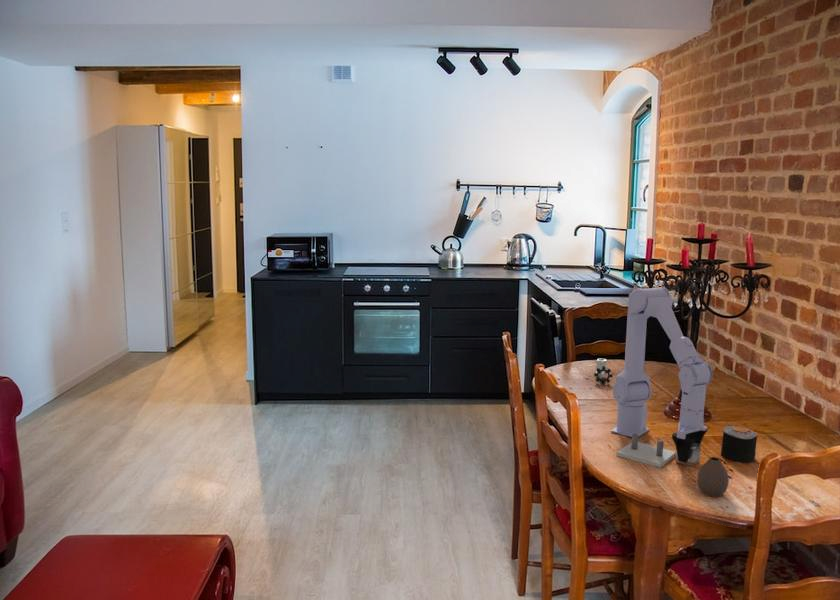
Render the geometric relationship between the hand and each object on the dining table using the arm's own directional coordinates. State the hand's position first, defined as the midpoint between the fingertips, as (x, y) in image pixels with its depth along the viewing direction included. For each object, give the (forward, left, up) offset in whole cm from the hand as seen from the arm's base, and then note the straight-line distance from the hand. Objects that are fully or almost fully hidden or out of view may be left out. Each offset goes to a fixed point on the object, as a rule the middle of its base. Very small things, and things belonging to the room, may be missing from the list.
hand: (687, 457), depth 190 cm
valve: (-56, -51, -2) cm, 76 cm away
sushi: (-13, +9, -2) cm, 16 cm away
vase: (+15, +11, -2) cm, 19 cm away
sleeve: (0, 0, -1) cm, 1 cm away
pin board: (+3, -10, -1) cm, 11 cm away
